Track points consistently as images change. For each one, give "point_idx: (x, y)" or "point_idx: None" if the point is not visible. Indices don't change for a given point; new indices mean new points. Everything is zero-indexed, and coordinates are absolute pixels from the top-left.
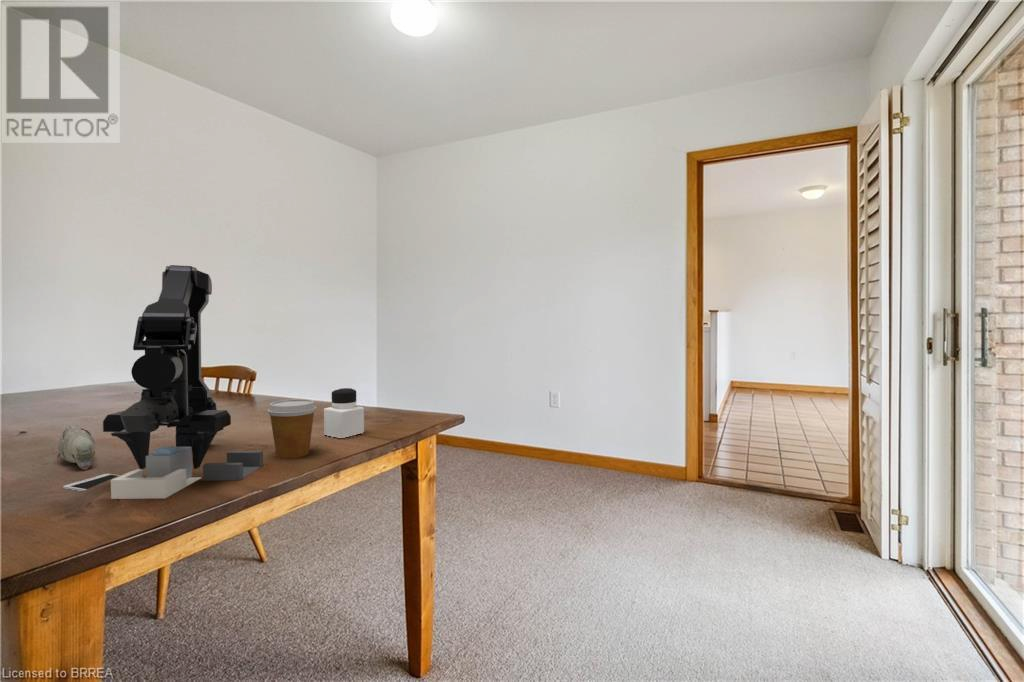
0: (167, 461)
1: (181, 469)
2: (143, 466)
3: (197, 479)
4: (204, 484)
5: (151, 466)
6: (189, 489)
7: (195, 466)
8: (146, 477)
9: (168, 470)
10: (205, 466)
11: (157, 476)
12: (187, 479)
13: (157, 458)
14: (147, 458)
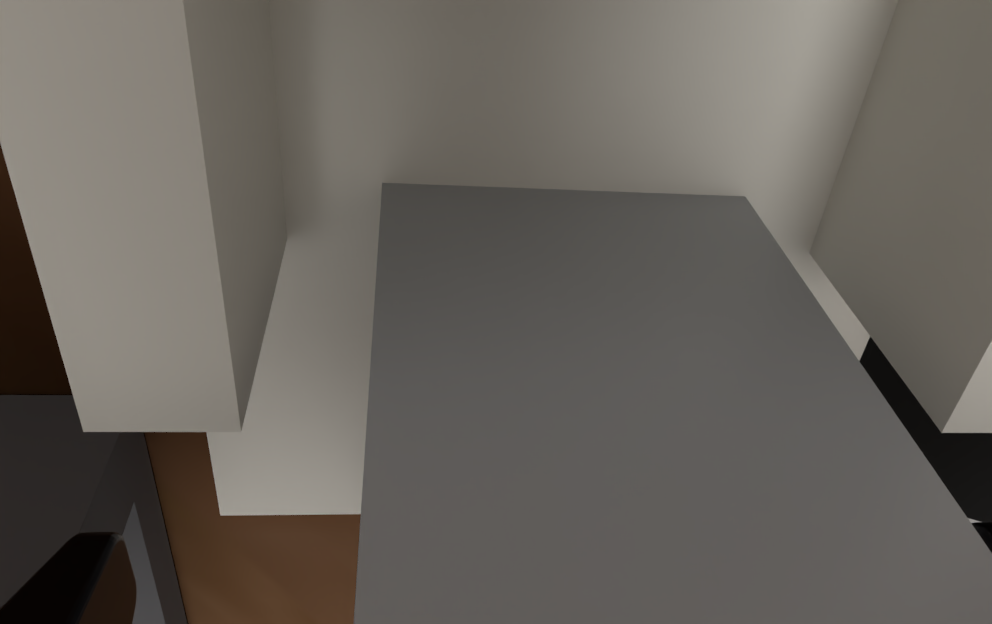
0: (420, 523)
1: (161, 410)
2: None
3: (222, 459)
4: None
5: (790, 432)
6: None
7: (59, 562)
8: (802, 286)
9: (402, 361)
10: None
11: (615, 293)
12: (357, 459)
13: (706, 593)
14: (972, 593)
